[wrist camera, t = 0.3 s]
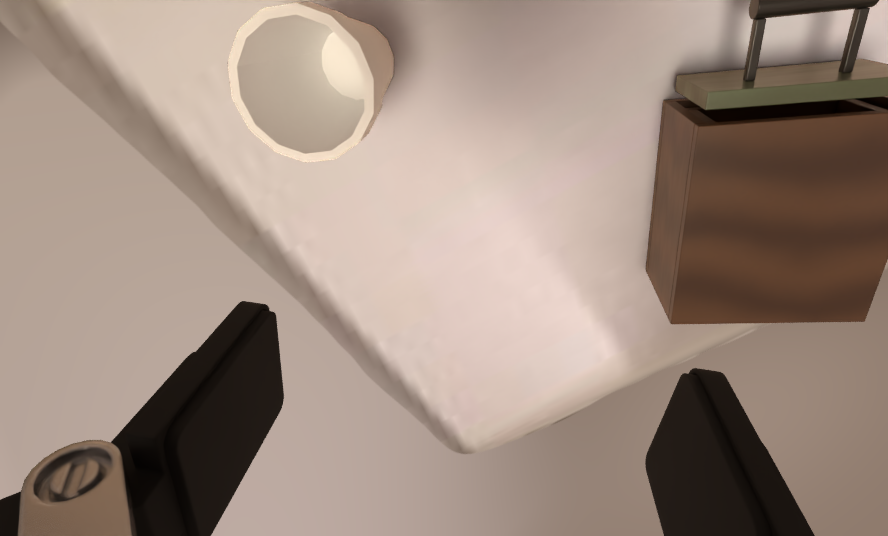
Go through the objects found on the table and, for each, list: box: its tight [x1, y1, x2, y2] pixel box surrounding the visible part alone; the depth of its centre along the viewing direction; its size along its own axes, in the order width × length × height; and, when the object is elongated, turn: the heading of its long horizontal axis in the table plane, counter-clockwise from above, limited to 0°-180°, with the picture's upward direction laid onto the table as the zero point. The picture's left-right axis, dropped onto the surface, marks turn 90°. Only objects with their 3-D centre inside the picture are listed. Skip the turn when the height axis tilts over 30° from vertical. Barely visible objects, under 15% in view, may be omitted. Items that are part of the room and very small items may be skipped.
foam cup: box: [227, 2, 394, 162], centre depth 36 cm, size 10×9×13 cm
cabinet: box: [646, 96, 888, 324], centre depth 39 cm, size 16×14×9 cm
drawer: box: [675, 0, 888, 123], centre depth 37 cm, size 20×13×7 cm, turn 6°
